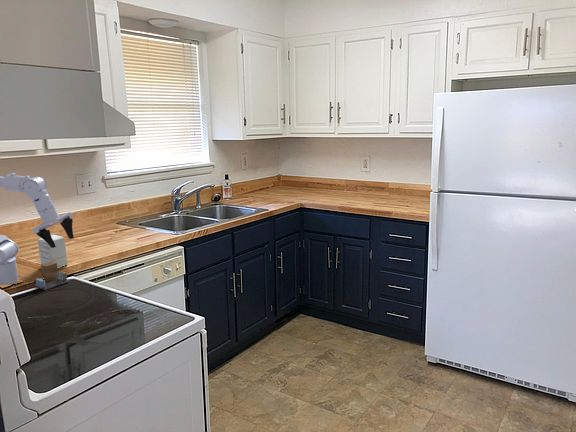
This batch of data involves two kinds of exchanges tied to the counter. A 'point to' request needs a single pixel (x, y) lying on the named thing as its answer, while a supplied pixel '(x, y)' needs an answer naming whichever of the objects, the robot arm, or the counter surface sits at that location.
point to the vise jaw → (40, 283)
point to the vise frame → (56, 281)
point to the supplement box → (53, 251)
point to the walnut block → (49, 270)
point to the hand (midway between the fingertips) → (62, 242)
